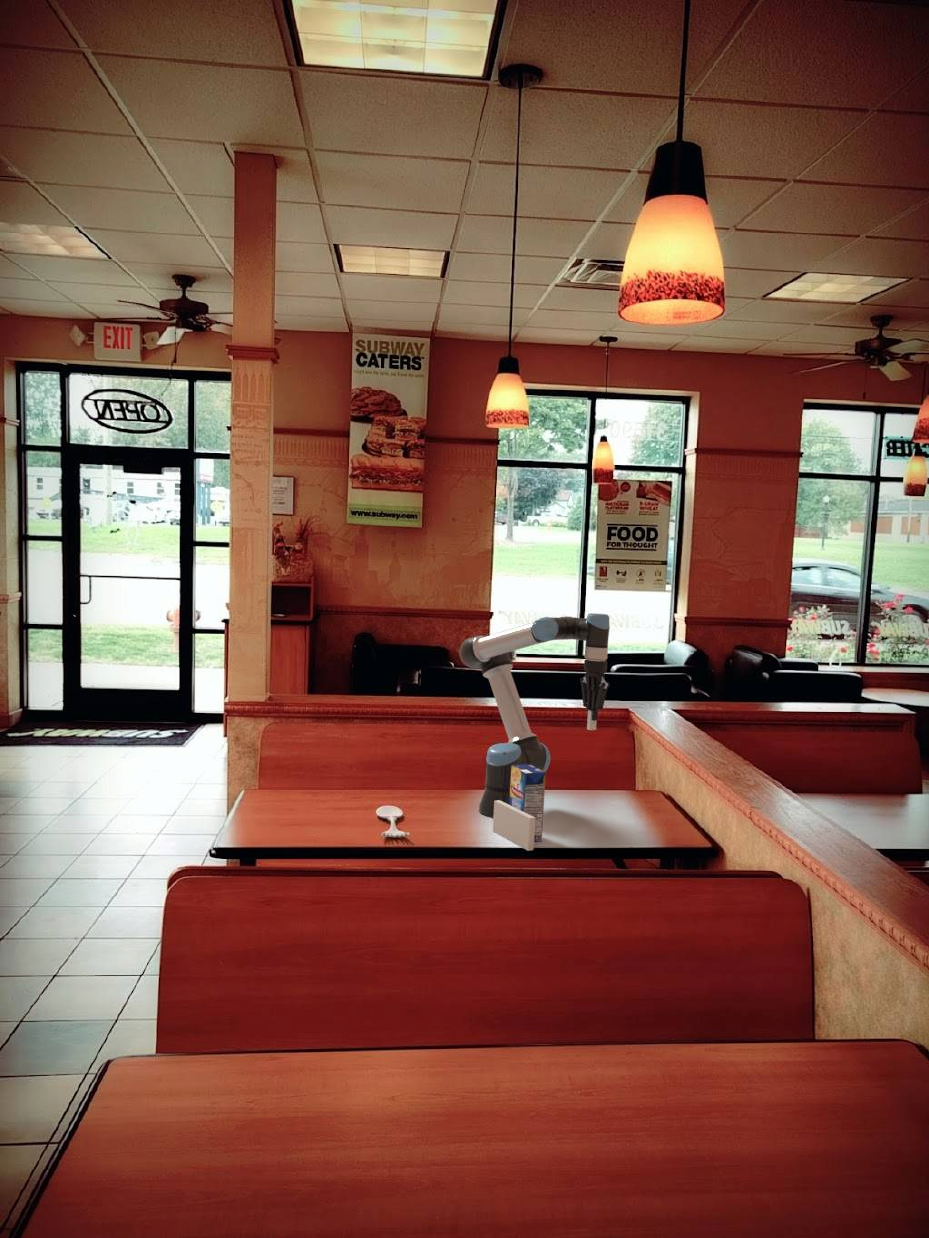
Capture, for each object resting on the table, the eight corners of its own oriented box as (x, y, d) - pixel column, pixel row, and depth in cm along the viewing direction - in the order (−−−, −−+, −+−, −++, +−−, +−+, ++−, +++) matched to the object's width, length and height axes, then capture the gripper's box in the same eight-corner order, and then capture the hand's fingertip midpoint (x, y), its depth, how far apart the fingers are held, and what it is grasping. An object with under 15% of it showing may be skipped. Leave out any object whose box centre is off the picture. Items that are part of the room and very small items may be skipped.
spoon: (380, 843, 252) (381, 832, 252) (374, 812, 284) (375, 802, 284) (410, 843, 254) (410, 832, 254) (401, 812, 285) (401, 802, 285)
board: (492, 831, 269) (494, 800, 269) (497, 830, 270) (499, 800, 270) (527, 850, 252) (529, 818, 252) (533, 849, 253) (535, 817, 253)
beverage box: (521, 843, 259) (525, 773, 258) (507, 832, 269) (511, 765, 268) (541, 841, 261) (545, 772, 260) (526, 831, 271) (530, 764, 270)
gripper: (617, 662, 275) (612, 732, 277) (592, 657, 287) (587, 725, 288) (599, 662, 272) (595, 733, 273) (574, 657, 283) (570, 726, 284)
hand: (591, 729), depth 280 cm, fingers closed
